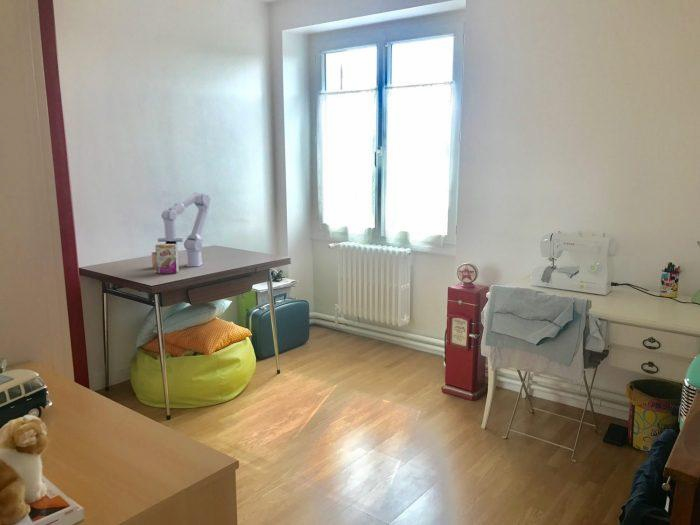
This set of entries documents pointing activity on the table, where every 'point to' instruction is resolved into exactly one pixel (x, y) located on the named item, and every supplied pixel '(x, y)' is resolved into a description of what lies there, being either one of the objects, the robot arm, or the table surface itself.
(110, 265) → the table surface
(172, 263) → the candy bar box
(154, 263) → the terracotta pencil cup
